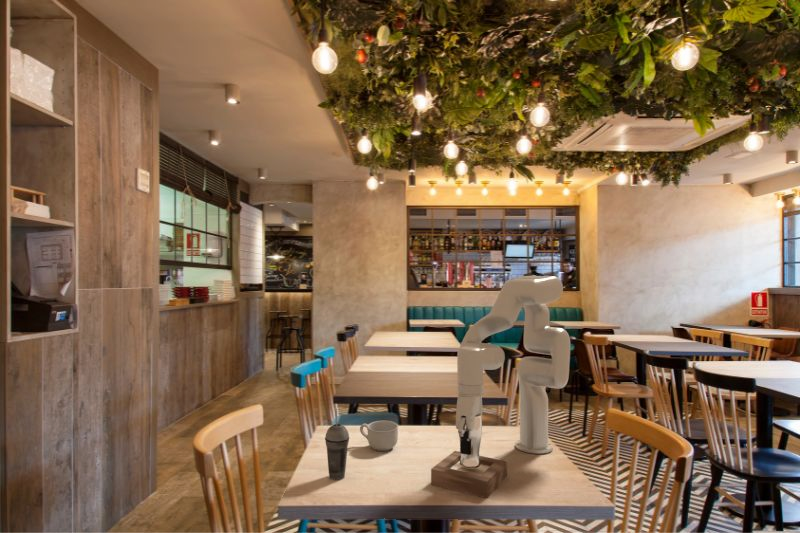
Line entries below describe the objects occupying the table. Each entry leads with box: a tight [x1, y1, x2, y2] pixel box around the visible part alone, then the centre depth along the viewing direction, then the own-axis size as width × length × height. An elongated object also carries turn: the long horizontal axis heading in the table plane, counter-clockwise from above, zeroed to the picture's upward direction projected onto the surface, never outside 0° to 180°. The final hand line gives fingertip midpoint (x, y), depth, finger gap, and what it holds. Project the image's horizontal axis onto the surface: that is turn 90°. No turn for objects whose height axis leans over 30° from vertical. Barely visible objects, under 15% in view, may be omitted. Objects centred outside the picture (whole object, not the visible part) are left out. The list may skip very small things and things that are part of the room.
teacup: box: [359, 420, 399, 452], centre depth 174 cm, size 14×11×8 cm
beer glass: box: [458, 413, 483, 469], centre depth 146 cm, size 7×7×15 cm
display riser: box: [430, 450, 508, 499], centre depth 146 cm, size 17×17×4 cm
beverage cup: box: [324, 408, 350, 481], centre depth 148 cm, size 7×7×20 cm
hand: (470, 449), depth 146 cm, fingers closed on beer glass, 6 cm apart
